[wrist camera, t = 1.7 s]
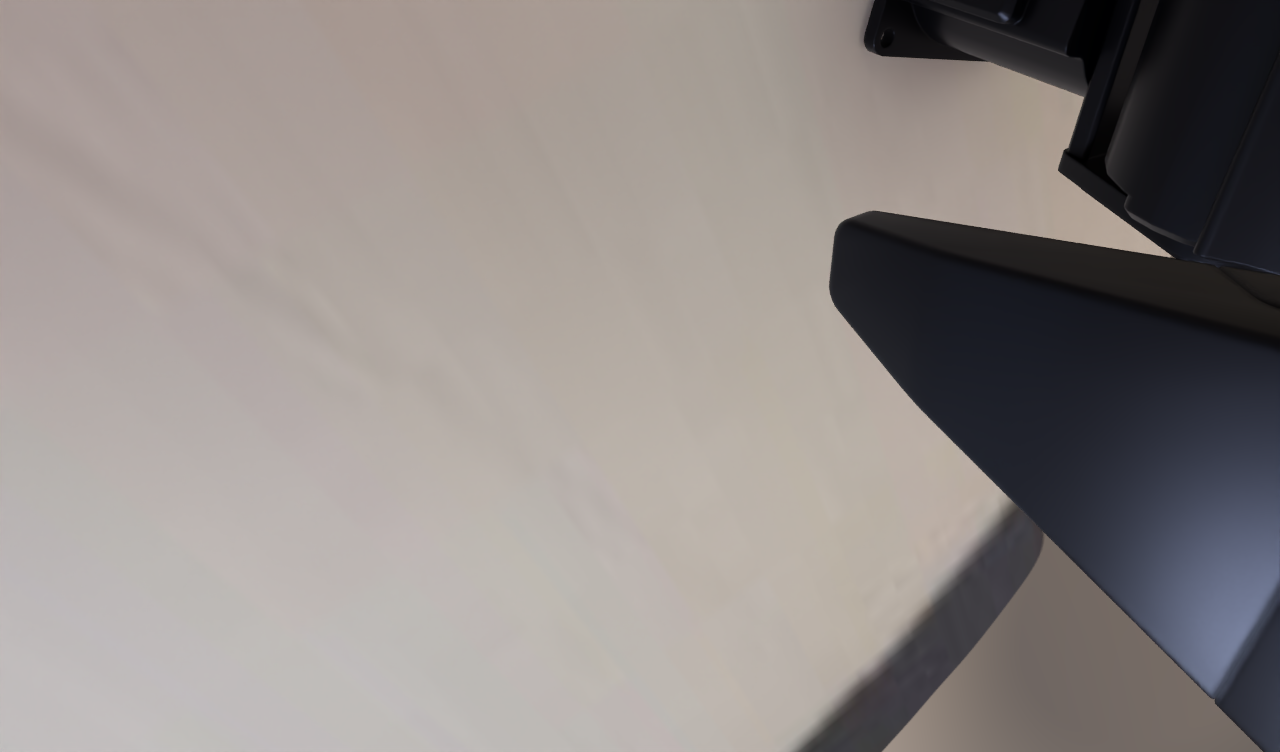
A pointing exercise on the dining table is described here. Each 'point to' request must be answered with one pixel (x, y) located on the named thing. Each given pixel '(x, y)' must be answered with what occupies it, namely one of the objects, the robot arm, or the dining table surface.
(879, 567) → the dining table surface
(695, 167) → the dining table surface
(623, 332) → the dining table surface
